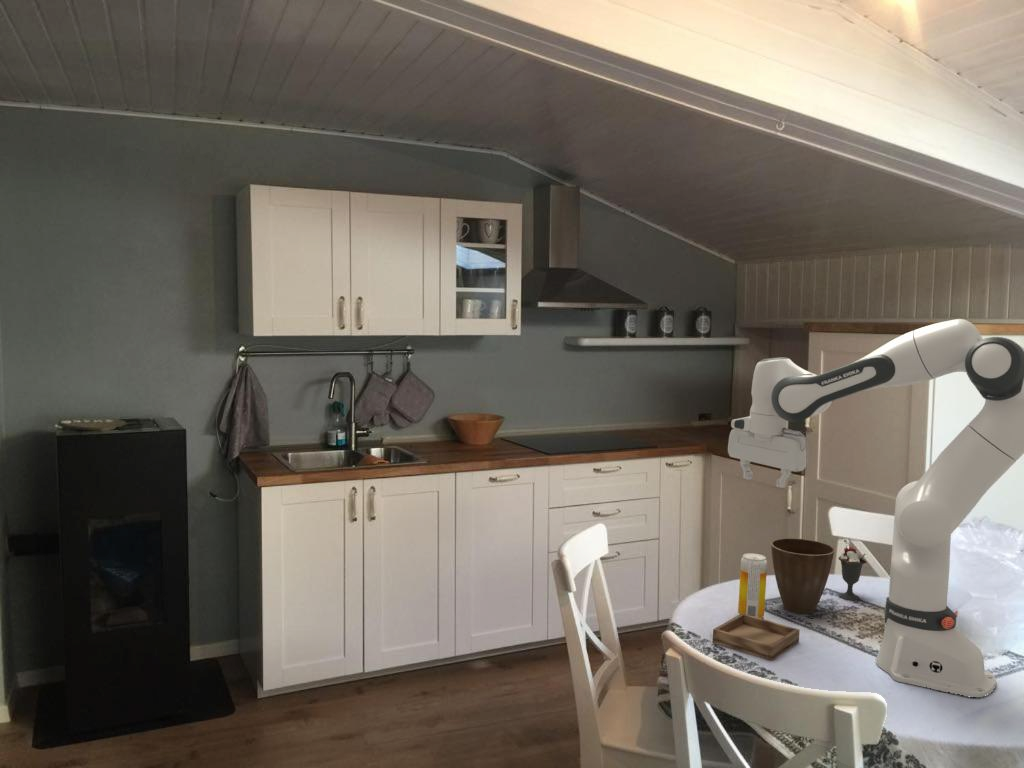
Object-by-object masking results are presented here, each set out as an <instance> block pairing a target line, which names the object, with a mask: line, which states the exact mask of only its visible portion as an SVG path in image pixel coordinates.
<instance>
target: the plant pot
mask: <svg viewBox="0 0 1024 768" xmlns="http://www.w3.org/2000/svg"><path fill="white" fill-rule="evenodd" d="M770 545H771V558H772V565H773V566H772V567H773V571H774V577H775V581H776V585H777V590H778V592H779V596H780V599H781V602H782V606H783V609H785V610H786V611H788V610H789V611H788V612H792V613H795V614H805V615H806V614H812V613H814V612H815V611H816V609H817V607H818V606H819V603H820V600H821V598H822V597H823V594H824V591H825V588H826V585H827V583H828V578H829V576H830V573H831V568H832V565H833V560H834V554H835V549H834V547H833V546H831V545H829V544H827V543H825V542H824V543H823V542H821V541H816V540H812V539H805V538H792V537H791V538H787V537H786V538H779V539H775V540H772V541H771V542H770Z"/></svg>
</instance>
